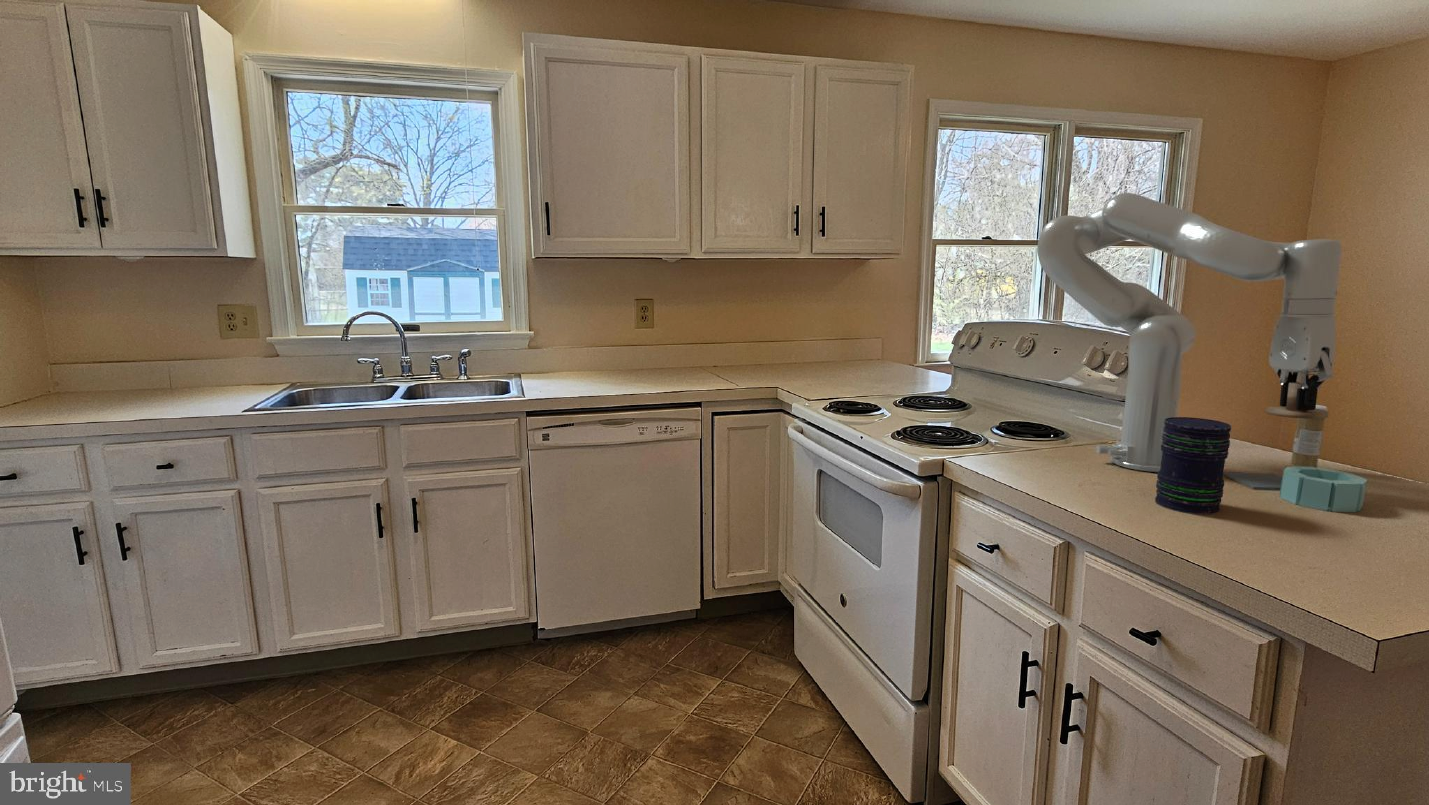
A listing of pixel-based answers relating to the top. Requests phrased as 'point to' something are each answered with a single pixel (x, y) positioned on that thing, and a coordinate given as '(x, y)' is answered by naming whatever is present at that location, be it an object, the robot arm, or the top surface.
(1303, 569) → the top surface
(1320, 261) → the robot arm
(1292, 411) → the lid
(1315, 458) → the sprinkles bottle
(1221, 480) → the storage jar
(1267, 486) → the mat
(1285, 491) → the bowl
